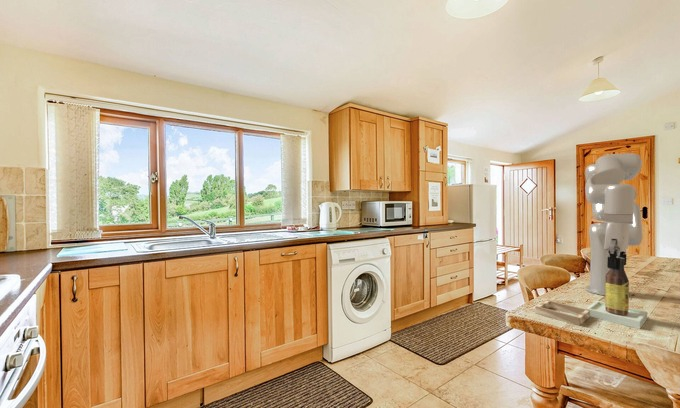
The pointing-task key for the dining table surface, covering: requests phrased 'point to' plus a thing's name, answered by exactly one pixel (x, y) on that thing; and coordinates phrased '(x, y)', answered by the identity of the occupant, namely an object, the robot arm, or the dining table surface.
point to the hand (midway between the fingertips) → (616, 266)
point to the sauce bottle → (617, 290)
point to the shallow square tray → (631, 319)
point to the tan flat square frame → (582, 313)
